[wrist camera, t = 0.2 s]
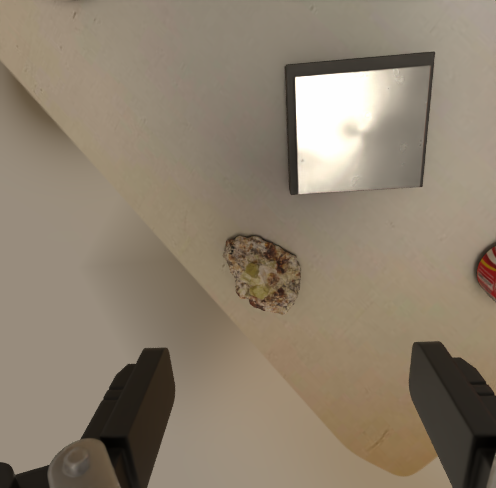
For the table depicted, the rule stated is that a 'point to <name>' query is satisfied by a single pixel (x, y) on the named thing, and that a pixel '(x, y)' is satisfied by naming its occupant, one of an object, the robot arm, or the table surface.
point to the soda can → (488, 273)
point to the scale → (358, 123)
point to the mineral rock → (263, 273)
